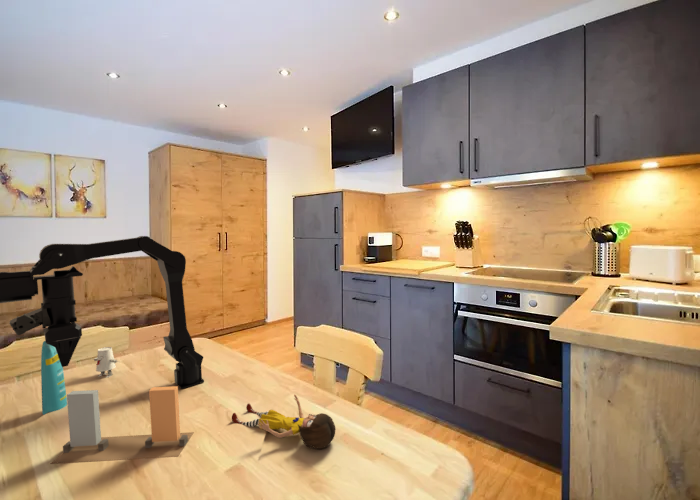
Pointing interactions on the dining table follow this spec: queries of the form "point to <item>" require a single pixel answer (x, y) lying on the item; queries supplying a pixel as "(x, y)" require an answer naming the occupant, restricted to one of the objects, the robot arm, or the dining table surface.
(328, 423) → the figurine
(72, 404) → the grey tall block
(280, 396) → the dining table surface
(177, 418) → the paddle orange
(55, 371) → the tube
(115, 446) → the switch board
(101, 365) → the toy figure
